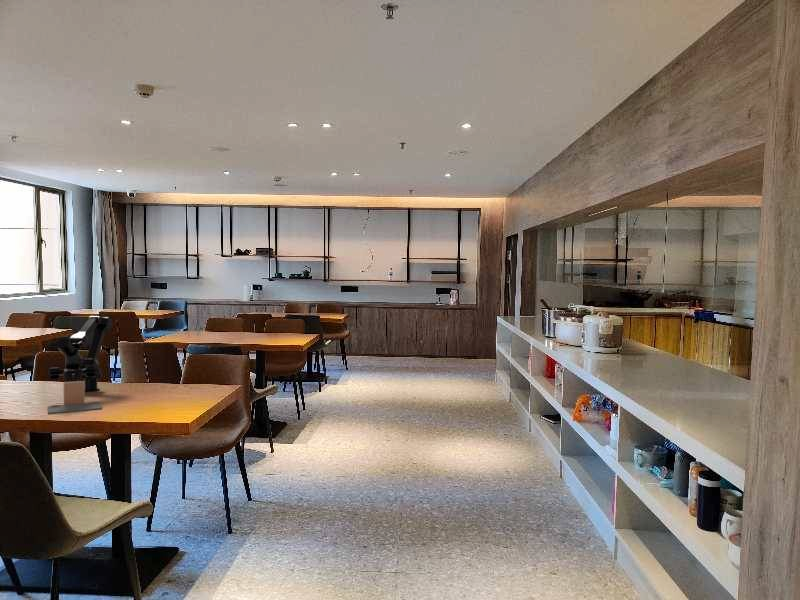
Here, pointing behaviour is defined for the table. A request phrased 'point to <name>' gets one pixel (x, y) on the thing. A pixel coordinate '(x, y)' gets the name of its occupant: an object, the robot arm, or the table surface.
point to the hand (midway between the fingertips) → (73, 387)
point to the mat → (74, 407)
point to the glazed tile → (73, 392)
